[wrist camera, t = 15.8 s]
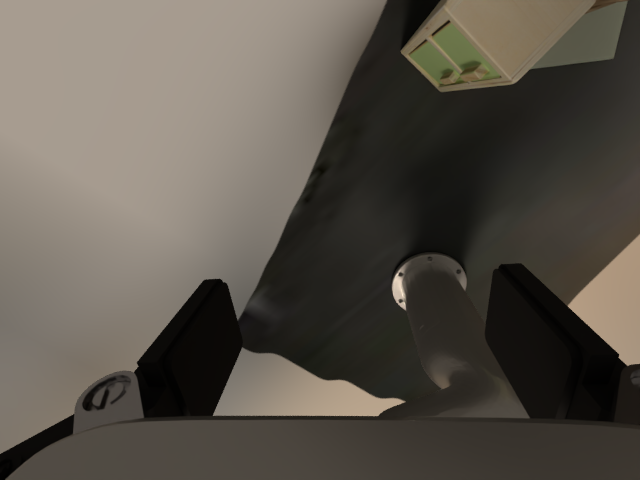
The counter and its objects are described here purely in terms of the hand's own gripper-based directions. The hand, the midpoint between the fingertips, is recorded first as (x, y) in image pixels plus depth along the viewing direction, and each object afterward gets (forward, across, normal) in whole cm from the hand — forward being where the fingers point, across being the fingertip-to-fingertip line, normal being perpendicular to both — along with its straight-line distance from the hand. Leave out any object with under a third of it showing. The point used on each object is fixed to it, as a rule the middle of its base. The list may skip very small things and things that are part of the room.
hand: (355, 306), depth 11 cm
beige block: (+38, -12, -11) cm, 42 cm away
